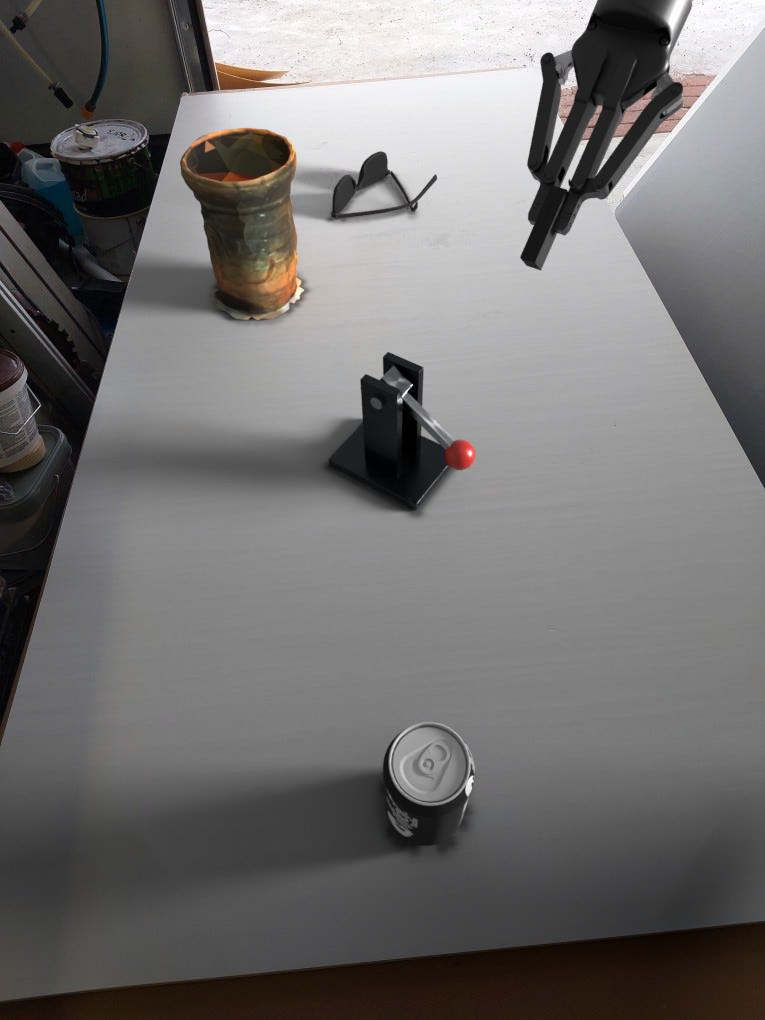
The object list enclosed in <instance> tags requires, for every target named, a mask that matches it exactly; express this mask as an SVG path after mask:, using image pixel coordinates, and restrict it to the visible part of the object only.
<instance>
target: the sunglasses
mask: <svg viewBox="0 0 765 1020" xmlns="http://www.w3.org/2000/svg"><path fill="white" fill-rule="evenodd" d="M388 161H389V160H388V155H387V153H386V152H384V151H383V150H380V151H376V152H374V153H372V154H371V155H369V156H368V157H366V158H365V160H364V161H363V162H362V164H361V166H360V170H359V174H358V178H357V181H356V179H355V178H354V177H353V176H352V175H351V174H344V175H343V176H341V178H340V179H339V180H338V181H337V183H336V184H335V186H334V189H333V192H332V200H331V201H332V204H331V205H332V208H331V213H330V217H331V218H333V219H336V220H339V219H348V218H350V219H351V218H357V217H358V218H359V217H365V216H372V215H379V214H385V213H390V212H391V213H392V212H395V211H396V212H397V211H401V210H403V209H406V208H409V209H410V211H411V212H412V213H415V212H416V211H417V209H418V207H419V200H420V199H421V198H422V197H423V196H424V195H425V194H426V193H427V192H428V190H429V189H431V187H432V186H433V185H434V184H435V183H436V182H437V180H438V175H437V174H433V176H432V177H431V178H430V180H429V181H428V182H427V184H426V185H425V186H424V187H423V188H422V189H421V191H420V192H419V193H418V194H417V195H416V196H415V197H414V199H412V200H410V197H409V196H408V194H407V192H406V190H405V188H404V187H403V184H402V183H401V182H400V180H399V178H398V177H397V176H396V174H395V173H394V171H393V170H390V169H389V168H388V167H389V166H388V164H389V163H388ZM388 175H390V176H391V177H392V179H393V180H394V182H395V184H397V186H398V188H399V189H400V191H401V193H402V195H403V196H404V198H405V200H406V202H407V203H404V204H400V205H397V206H393V207H386V208H380V209H373V210H365V211H364V210H363V211H357V212H347V213H341V212H342V211H343V210H344V209H345V207H347V205H348V203H349V202H350V201H351V200H352V199H353V197H354V196H355V195H356V193H357V192H359V191H361V190H364V189H367V188H369V187H371V186H373V185H374V184H376V183H378V182H380V181H381V180H383V179H384V178H385V177H388ZM413 205H414V206H413Z"/></svg>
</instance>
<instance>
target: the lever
mask: <svg viewBox="0 0 765 1020" xmlns="http://www.w3.org/2000/svg"><path fill="white" fill-rule="evenodd" d="M379 380H380V381H383V382H385V383H387V384H389V385H391V386H394V387H396V388H398V389H400V390H402V406H403V407H404V408H405V409H406V410H407V411H408V412H409V413H410V414H411V416H412V417H413V418H414V419H415V420H416V421H417V422H418V423H419V424H420V425H421V428H423V429H424V430H425V431H426V432H427V433H428V434H429V435H430V436H431V437H432V438H433V439H434V440H435V442H436V443H438V444H440V445H441V446H442V447H443V448H444V449H445V460H446V462H447V464H448V465H449V466H450V467H451V468H450V469H453V470H456V471H464V470H467V469H469V468H470V467H471V466H472V465H473V464H474V462H475V459H476V450H475V448H474V446H473V444H472V443H470V442H469V441H468V440H465V439H455V438H453V436H451V434H450V433H449V432H447V430H446V429H444V427H442V425H441V424H440V423H439V422H438V421H437V420H436V419H435V418H434V417H433V416H432V415H431V414H430V413H429V412H428V411H427V410H426V409H425V408H424V407H423V405H422V406H421V405H420V404H419V403H418V402H417V401H416V400H415V399H414V398H413V397H412V396H411V395H410V394H409V393H408V392H407V391H408V390H409V389H410V388H411V387H412V386H413V385H412V384H411V383H410V382H409V381H408V380H407V379H406V378H405V377H404V376H403V374H402V373H401V372H400V371H399V370H398V369H397V368H396V367H395V366H393V367H392V368H391V369H390V370H389V371H388V372H387V373H386V374H385V375H384V376H383V375H382V377H380V379H379Z"/></svg>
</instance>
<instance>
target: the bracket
mask: <svg viewBox="0 0 765 1020" xmlns="http://www.w3.org/2000/svg"><path fill="white" fill-rule="evenodd" d="M393 366H395V367H396V368H397V369H398V370H399V371H400V372H401V373H402V374H403V376H404V377H405V378H406V379H407V380H408V381H409V382H410V383H411V384H412V385H413V386H412V387H411V388H410V389H409V390H408V391H407V392H408V393H409V394H410V395H411V396H412V397H413V398H414V399H415V400H416V401H417V402H418V403H419V404H420V405H421V406H422V407H423V400H424V399H423V397H424V372H425V371H424V370H425V369H424V368H425V367H424V366H422V365H420V364H418V363H416V362H413V361H410V360H409V359H406V358H403V357H401V356H399V355H396V354H394V353H392V352H390V351H387V352H386V353H385V354H384V355H382V377H383V376H384V375H385V374H386V373H387V372H388V371H389V370H390V369H391V368H392V367H393ZM359 382H360V396H361V397H360V398H361V399H360V400H361V415H362V422H361V423H360V424H359V426H358V427H357V428H356V429H355V430H354V431H353V432H352V433H351V434H350V435H349V436H348V437H347V438H346V440H344V442H342V444H341V445H340V446H339V447H338V448H337V449H336V450H335V451H334V452H333V453H332V455H331V456H330V457H329V458H328V459H327V462H328V466H329V467H330V468H332V469H334V470H337V471H338V472H341V473H342V474H343V475H345V476H348V477H350V478H351V479H354V480H355V481H358V482H360V483H361V484H363V485H365V486H367V487H369V488H371V489H373V490H375V491H377V492H379V493H380V494H382V495H385V496H386V497H388V498H390V499H392V500H394V501H396V502H398V503H400V504H401V505H403V506H406V508H410V509H411V510H413V511H415V512H416V511H417V510H418V509H419V508H420V507H421V505H422V504H423V503H424V502H425V500H426V499H427V498H428V496H429V495H430V494H431V493H432V491H433V490H434V489H435V488H436V487H437V486H438V484H439V483H440V482H441V480H442V479H443V478H444V476H446V474H447V473H448V472H449V470H451V469H452V468H451V467H450V466H449V465H448V464H447V462H446V460H445V449H444V448H443V447H442V446H441V445H440V444H439V443H438V442H437V441H434V440H432V439H429V438H427V437H425V436H424V435H422V426H421V425H420V424H419V423H418V422H417V421H416V420H415V419H414V418H413V417H412V416H411V414H410V413H409V412H408V411H407V410H406V409H405V408H404V407H403V406H402V390H400V389H398V388H396V387H394V386H391V385H389V384H387V383H385V382H383V381H380V379H378V378H376V377H374V376H372V375H369V374H367V373H365V374H364V375H363V376H362V377H361V378H360V380H359Z"/></svg>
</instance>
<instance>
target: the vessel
mask: <svg viewBox="0 0 765 1020" xmlns="http://www.w3.org/2000/svg"><path fill="white" fill-rule="evenodd" d="M179 165H180V166H179V167H180V174H181V177H182V179H183V181H184V183H185V185H186V186H187V187H188V188H189V189H190V191H191V192H192V194H193V197H194V199H196V201H197V202H199V205H200V214H201V216H202V220H203V230H204V234H205V237H206V241H207V248H208V251H209V260H210V263H211V264H210V265H211V267H212V271H213V275H214V279H215V281H216V282H215V283H216V285H217V287H216V289H217V290H216V291H214V292H213V295H214V302H215V303H216V306H217V309H218V310H221V311H225V312H226V313H227V314H228V315H230V316H231V317H232V318H234V319H236V320H245V321H249V320H250V319H251V318H253V319H255V320H256V321H260V320H262V319H266V320H274V319H276V318H277V317H279V316H281V315H282V314H284V313H286V312H287V311H289V309H290V303H292V304H296V301H297V300H300V299H301V294H302V293H303V292H304V291H305V289H304V288H303V287H301V285H302V280H301V279H299V278H298V277H297V275H298V273H297V266H298V262H299V255H298V251H297V250H298V249H297V248H298V247H297V246H298V234H297V229H296V224H295V219H294V215H293V202H292V198H291V194H292V193H291V191H292V181H293V180H294V178H295V175H296V171H297V165H298V160H297V152H296V148H295V146H294V144H293V143H292V142H291V141H290V139H289V138H287V137H286V136H284V135H281V134H278V133H276V132H274V131H272V130H269V129H267V128H256V127H255V128H254V127H240V128H239V127H238V128H232V129H228V128H227V129H223V130H222V129H221V130H217V131H213V132H209V133H206V134H203V135H200V136H199V137H198V138H197V139H195V140H194V141H193V142H192V143H191V145H190V146H189V147H188V148H187V149H186V150H185V152H184V153H183V155H182V156H181V158H180V160H179Z"/></svg>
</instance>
